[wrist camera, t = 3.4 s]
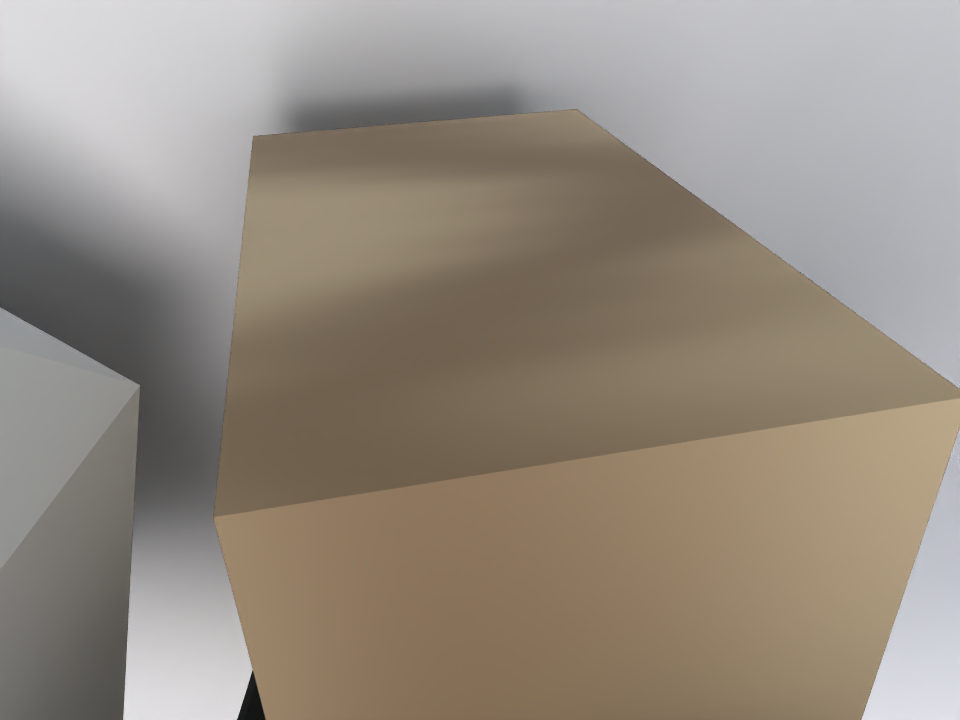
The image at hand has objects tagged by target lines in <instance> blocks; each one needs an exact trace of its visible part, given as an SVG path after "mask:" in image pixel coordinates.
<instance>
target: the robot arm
mask: <svg viewBox="0 0 960 720" xmlns="http://www.w3.org/2000/svg"><path fill="white" fill-rule="evenodd" d="M237 720H266V718H265V714H264V711H263V707H262V703H261V699H260V695H259V691H258V687H257V684H256V680H255V676H254V672H253V671H252V674H251V678H250V681H249V684H248V688H247V691H246V694H245V697H244V700H243V703H242V706H241V710H240V713H239V716H238V719H237Z"/></svg>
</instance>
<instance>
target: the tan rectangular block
mask: <svg viewBox="0 0 960 720" xmlns="http://www.w3.org/2000/svg"><path fill="white" fill-rule="evenodd" d="M959 428H960V389H959V388H958V387H956V386H955V385H953V384H952V383H951V382H949V381H948V380H947V379H945V378H944V377H942V376H941V375H940V374H938V373H937V372H936V371H934V370H933V369H932V368H930V367H929V366H927V365H926V364H925V363H923V362H922V361H921V360H919V359H918V358H916V357H915V356H914V355H912V354H911V353H910V352H908V351H907V350H906V349H904V348H903V347H901V346H900V345H899V344H897V343H896V342H895V341H893V340H892V339H890V338H889V337H888V336H886V335H885V334H884V333H882V332H881V331H880V330H878V329H877V328H875V327H874V326H873V325H871V324H870V323H869V322H867V321H866V320H864V319H863V318H862V317H860V316H859V315H858V314H856V313H855V312H854V311H852V310H851V309H849V308H848V307H847V306H845V305H844V304H843V303H841V302H840V301H838V300H837V299H836V298H834V297H833V296H832V295H830V294H829V293H828V292H826V291H825V290H823V289H822V288H821V287H819V286H818V285H817V284H815V283H814V282H813V281H811V280H810V279H808V278H807V277H806V276H804V275H803V274H802V273H800V272H799V271H797V270H796V269H795V268H793V267H792V266H791V265H789V264H788V263H787V262H785V261H784V260H782V259H781V258H780V257H778V256H777V255H776V254H774V253H773V252H771V251H770V250H769V249H767V248H766V247H765V246H763V245H762V244H761V243H759V242H758V241H756V240H755V239H754V238H752V237H751V236H750V235H748V234H747V233H745V232H744V231H743V230H741V229H740V228H739V227H737V226H736V225H735V224H733V223H732V222H730V221H729V220H728V219H726V218H725V217H724V216H722V215H721V214H719V213H718V212H717V211H715V210H714V209H713V208H711V207H710V206H709V205H707V204H706V203H704V202H703V201H702V200H700V199H699V198H698V197H696V196H695V195H693V194H692V193H691V192H689V191H688V190H687V189H685V188H684V187H683V186H681V185H680V184H678V183H677V182H676V181H674V180H673V179H672V178H670V177H669V176H667V175H666V174H665V173H663V172H662V171H661V170H659V169H658V168H657V167H655V166H654V165H652V164H651V163H650V162H648V161H647V160H646V159H644V158H643V157H641V156H640V155H639V154H637V153H636V152H635V151H633V150H632V149H631V148H629V147H628V146H626V145H625V144H624V143H622V142H621V141H620V140H618V139H617V138H615V137H614V136H613V135H611V134H610V133H609V132H607V131H606V130H605V129H603V128H602V127H600V126H599V125H598V124H596V123H595V122H594V121H592V120H591V119H589V118H588V117H587V116H585V115H584V114H583V113H581V112H580V111H579V110H577V109H572V110H560V111H548V112H536V113H524V114H512V115H500V116H488V117H476V118H464V119H452V120H440V121H428V122H416V123H404V124H392V125H380V126H368V127H356V128H344V129H332V130H320V131H308V132H296V133H284V134H272V135H259V136H253V141H252V151H251V160H250V170H249V180H248V189H247V199H246V209H245V218H244V228H243V237H242V247H241V257H240V266H239V276H238V285H237V295H236V305H235V314H234V324H233V333H232V343H231V353H230V362H229V372H228V381H227V391H226V401H225V410H224V420H223V430H222V439H221V449H220V458H219V468H218V478H217V487H216V497H215V506H214V516H213V518H214V522H215V526H216V530H217V533H218V537H219V541H220V545H221V549H222V553H223V556H224V560H225V564H226V568H227V572H228V576H229V580H230V583H231V587H232V591H233V595H234V599H235V603H236V607H237V610H238V614H239V618H240V622H241V626H242V630H243V633H244V637H245V641H246V645H247V649H248V653H249V657H250V660H251V664H252V668H253V672H254V676H255V680H256V684H257V687H258V691H259V695H260V699H261V703H262V707H263V711H264V714H265V718H266V720H861V719H862V716H863V713H864V710H865V707H866V704H867V701H868V698H869V696H870V693H871V690H872V687H873V684H874V681H875V678H876V675H877V672H878V669H879V666H880V663H881V660H882V657H883V654H884V651H885V648H886V645H887V642H888V639H889V636H890V633H891V630H892V627H893V624H894V621H895V618H896V615H897V612H898V609H899V606H900V603H901V600H902V597H903V594H904V591H905V588H906V586H907V583H908V580H909V577H910V574H911V571H912V568H913V565H914V562H915V559H916V556H917V553H918V550H919V547H920V544H921V541H922V538H923V535H924V532H925V529H926V526H927V523H928V520H929V517H930V514H931V511H932V508H933V505H934V502H935V499H936V496H937V493H938V490H939V487H940V484H941V481H942V479H943V476H944V473H945V470H946V467H947V464H948V461H949V458H950V455H951V452H952V449H953V446H954V443H955V440H956V437H957V434H958V431H959Z"/></svg>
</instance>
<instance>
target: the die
mask: <svg viewBox="0 0 960 720" xmlns="http://www.w3.org/2000/svg"><path fill="white" fill-rule="evenodd" d="M139 396H140V385H139V384H137V383H135V382H133V381H131V380H130V379H128V378H126V377H124V376H122V375H121V374H119V373H117V372H115V371H113V370H112V369H110V368H108V367H106V366H105V365H103V364H101V363H99V362H97V361H96V360H94V359H92V358H90V357H88V356H87V355H85V354H83V353H81V352H79V351H78V350H76V349H74V348H72V347H70V346H69V345H67V344H65V343H63V342H61V341H60V340H58V339H56V338H54V337H52V336H51V335H49V334H47V333H45V332H44V331H42V330H40V329H38V328H36V327H35V326H33V325H31V324H29V323H27V322H26V321H24V320H22V319H20V318H18V317H17V316H15V315H13V314H11V313H9V312H8V311H6V310H4V309H2V308H0V720H123V711H124V691H125V672H126V652H127V632H128V613H129V593H130V573H131V553H132V534H133V514H134V494H135V475H136V455H137V435H138V416H139Z"/></svg>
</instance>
